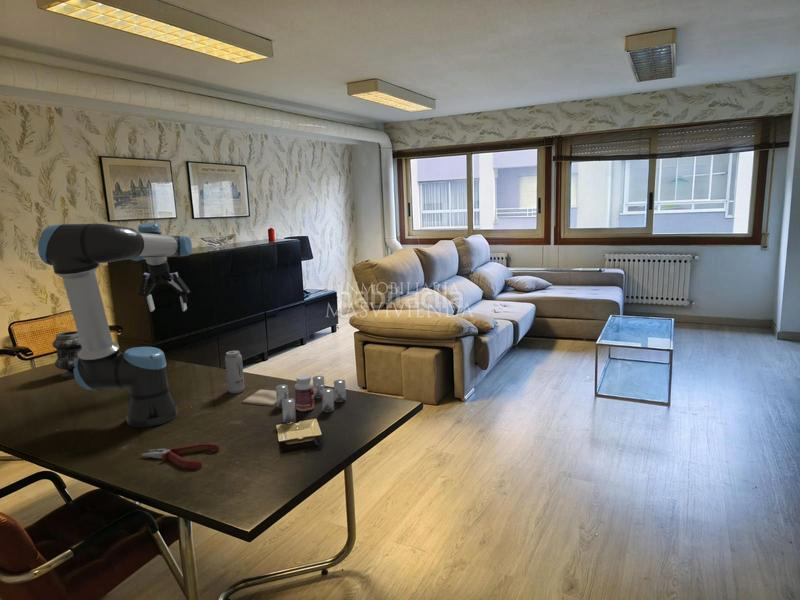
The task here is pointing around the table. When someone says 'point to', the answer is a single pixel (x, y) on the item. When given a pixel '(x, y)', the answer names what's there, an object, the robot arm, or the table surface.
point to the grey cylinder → (339, 390)
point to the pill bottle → (304, 393)
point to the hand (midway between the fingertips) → (168, 310)
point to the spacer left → (281, 394)
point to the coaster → (262, 398)
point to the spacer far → (318, 385)
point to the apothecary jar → (67, 351)
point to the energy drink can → (234, 371)
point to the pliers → (178, 460)
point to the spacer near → (289, 410)
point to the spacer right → (327, 399)
